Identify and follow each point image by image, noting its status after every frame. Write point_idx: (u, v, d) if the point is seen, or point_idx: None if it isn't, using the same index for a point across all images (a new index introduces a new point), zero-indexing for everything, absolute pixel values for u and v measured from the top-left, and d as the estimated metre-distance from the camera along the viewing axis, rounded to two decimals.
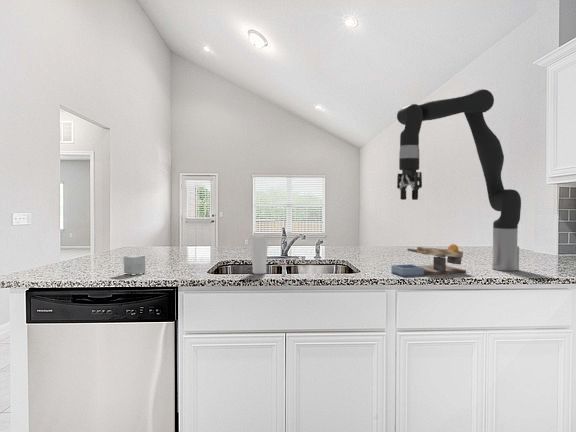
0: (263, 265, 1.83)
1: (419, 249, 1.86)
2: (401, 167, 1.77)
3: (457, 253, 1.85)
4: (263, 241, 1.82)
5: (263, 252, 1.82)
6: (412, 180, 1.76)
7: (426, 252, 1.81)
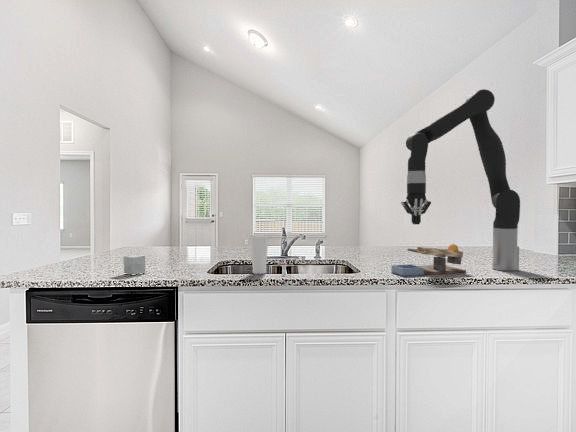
0: (263, 265, 1.83)
1: (419, 249, 1.86)
2: (422, 191, 1.87)
3: (457, 253, 1.85)
4: (263, 241, 1.82)
5: (263, 252, 1.82)
6: None
7: (426, 252, 1.81)
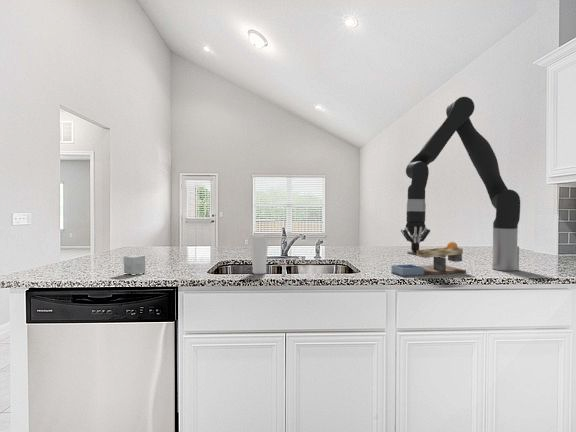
0: (263, 265, 1.83)
1: (418, 252, 1.86)
2: (421, 219, 1.88)
3: (457, 251, 1.84)
4: (263, 241, 1.82)
5: (263, 252, 1.82)
6: None
7: (426, 255, 1.81)
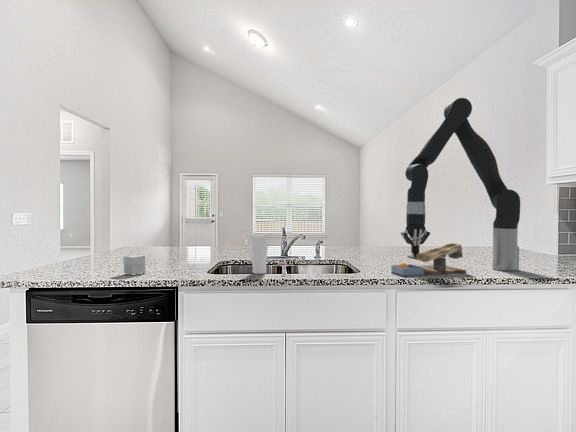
0: (263, 265, 1.83)
1: (418, 256, 1.86)
2: (421, 222, 1.88)
3: (456, 248, 1.84)
4: (263, 241, 1.82)
5: (263, 252, 1.82)
6: None
7: (426, 259, 1.81)
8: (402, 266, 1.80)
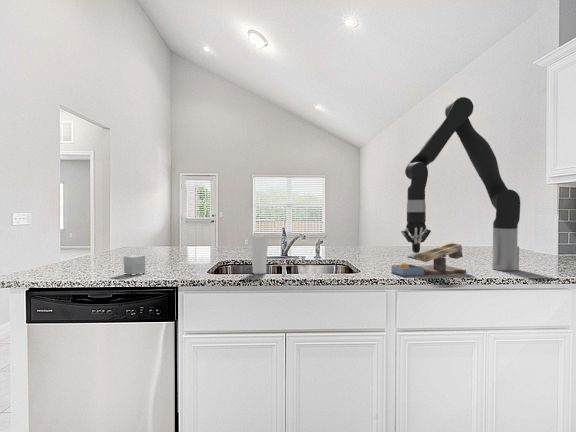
0: (263, 265, 1.83)
1: (418, 256, 1.86)
2: (422, 220, 1.88)
3: (456, 248, 1.84)
4: (263, 241, 1.82)
5: (263, 252, 1.82)
6: None
7: (426, 259, 1.81)
8: (403, 265, 1.80)
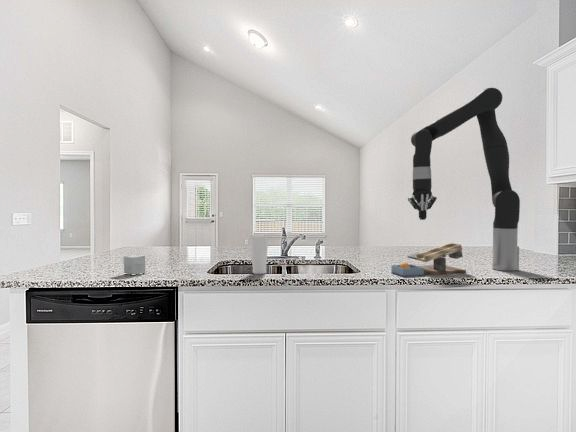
0: (263, 265, 1.83)
1: (418, 256, 1.86)
2: (428, 187, 1.90)
3: (456, 248, 1.84)
4: (263, 241, 1.82)
5: (263, 252, 1.82)
6: None
7: (426, 259, 1.81)
8: (405, 265, 1.80)
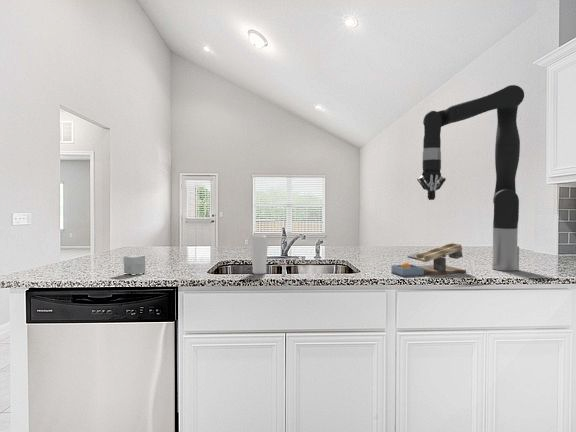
0: (263, 265, 1.83)
1: (418, 256, 1.86)
2: (437, 167, 1.94)
3: (456, 248, 1.84)
4: (263, 241, 1.82)
5: (263, 252, 1.82)
6: None
7: (426, 259, 1.81)
8: (406, 265, 1.81)
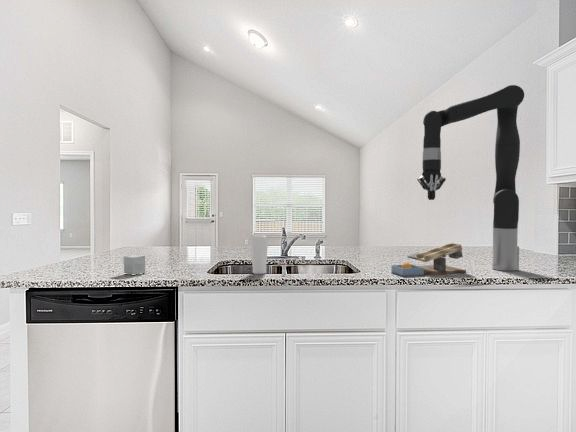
0: (263, 265, 1.83)
1: (418, 256, 1.86)
2: (437, 167, 1.94)
3: (456, 248, 1.84)
4: (263, 241, 1.82)
5: (263, 252, 1.82)
6: None
7: (426, 259, 1.81)
8: (408, 264, 1.81)
